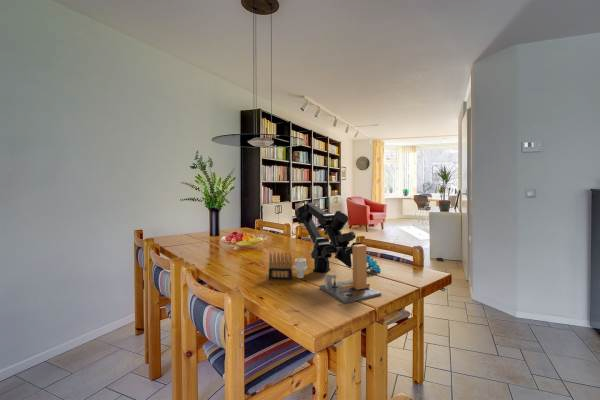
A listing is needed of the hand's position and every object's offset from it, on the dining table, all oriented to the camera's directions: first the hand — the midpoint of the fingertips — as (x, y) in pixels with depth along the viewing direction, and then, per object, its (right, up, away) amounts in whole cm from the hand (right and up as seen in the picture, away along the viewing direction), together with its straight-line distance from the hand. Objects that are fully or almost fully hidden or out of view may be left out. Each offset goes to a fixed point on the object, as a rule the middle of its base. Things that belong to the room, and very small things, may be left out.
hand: (350, 267), depth 120 cm
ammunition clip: (-30, -8, +10) cm, 32 cm away
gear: (+14, -7, +20) cm, 25 cm away
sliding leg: (0, -7, -6) cm, 9 cm away
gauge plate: (-2, -8, -7) cm, 11 cm away
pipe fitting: (-21, -8, +12) cm, 25 cm away
